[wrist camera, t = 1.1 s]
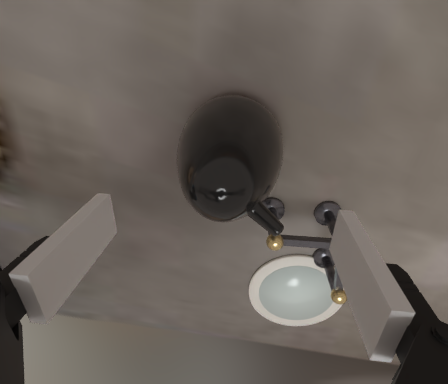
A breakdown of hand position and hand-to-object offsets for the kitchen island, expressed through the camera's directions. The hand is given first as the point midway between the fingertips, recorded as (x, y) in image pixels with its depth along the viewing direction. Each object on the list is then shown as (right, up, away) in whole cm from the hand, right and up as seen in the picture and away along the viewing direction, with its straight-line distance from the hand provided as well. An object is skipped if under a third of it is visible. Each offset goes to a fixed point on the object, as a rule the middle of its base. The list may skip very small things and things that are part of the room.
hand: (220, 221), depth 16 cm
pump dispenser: (+1, +8, +16) cm, 18 cm away
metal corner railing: (+10, -4, +20) cm, 23 cm away
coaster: (+11, -13, +25) cm, 30 cm away
